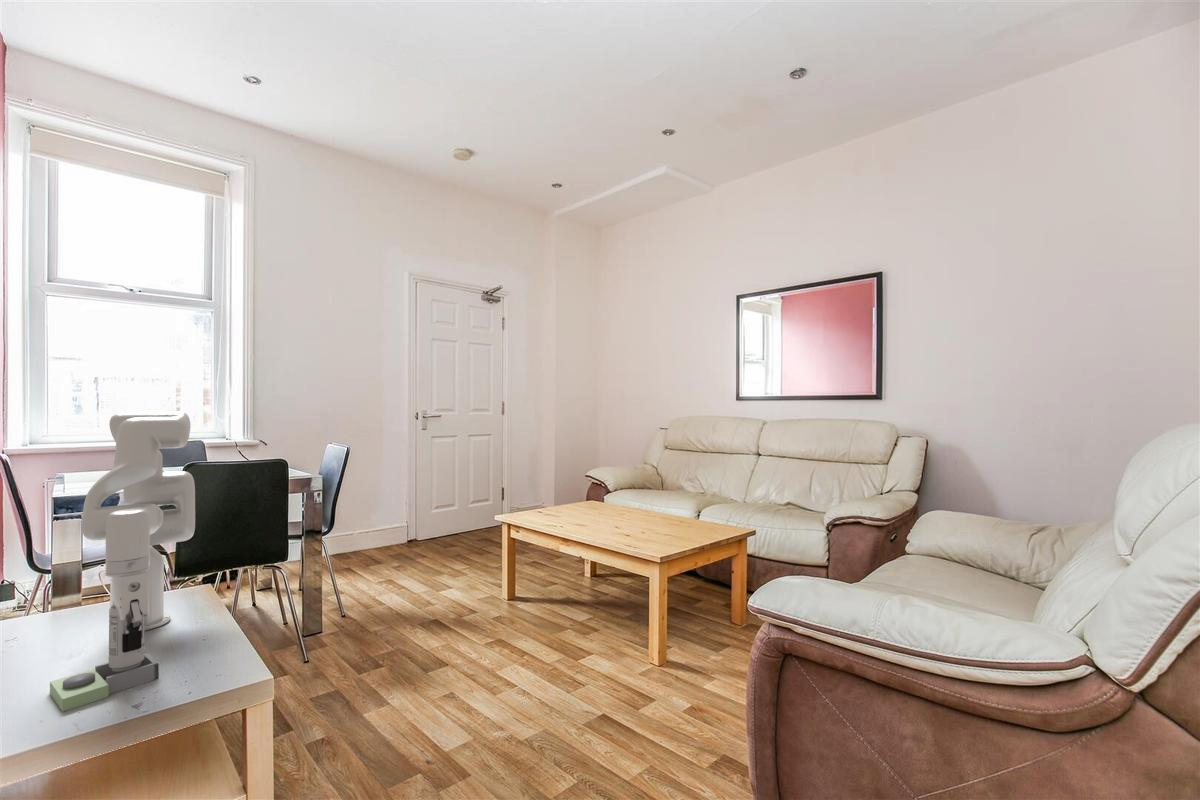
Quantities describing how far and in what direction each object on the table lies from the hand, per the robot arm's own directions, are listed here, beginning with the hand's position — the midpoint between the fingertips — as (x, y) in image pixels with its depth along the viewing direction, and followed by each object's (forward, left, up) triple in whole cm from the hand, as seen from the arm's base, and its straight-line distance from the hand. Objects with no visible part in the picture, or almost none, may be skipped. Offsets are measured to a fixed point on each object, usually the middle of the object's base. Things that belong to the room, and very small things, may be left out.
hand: (127, 645), depth 122 cm
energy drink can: (0, 0, -5) cm, 5 cm away
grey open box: (0, -3, -8) cm, 8 cm away
